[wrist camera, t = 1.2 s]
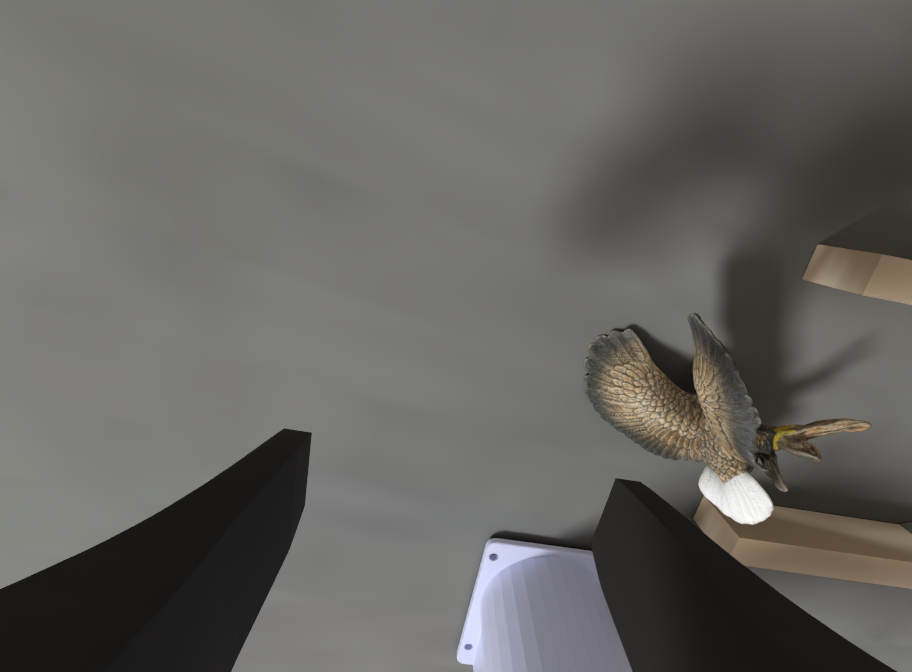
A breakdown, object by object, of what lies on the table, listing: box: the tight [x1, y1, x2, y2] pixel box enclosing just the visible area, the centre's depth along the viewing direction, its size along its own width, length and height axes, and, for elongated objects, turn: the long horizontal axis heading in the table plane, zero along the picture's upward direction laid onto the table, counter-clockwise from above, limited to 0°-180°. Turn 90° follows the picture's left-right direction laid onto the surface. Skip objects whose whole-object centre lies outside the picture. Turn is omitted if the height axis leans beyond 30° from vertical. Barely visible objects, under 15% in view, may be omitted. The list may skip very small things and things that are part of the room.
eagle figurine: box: [584, 313, 871, 525], centre depth 19 cm, size 8×7×9 cm
